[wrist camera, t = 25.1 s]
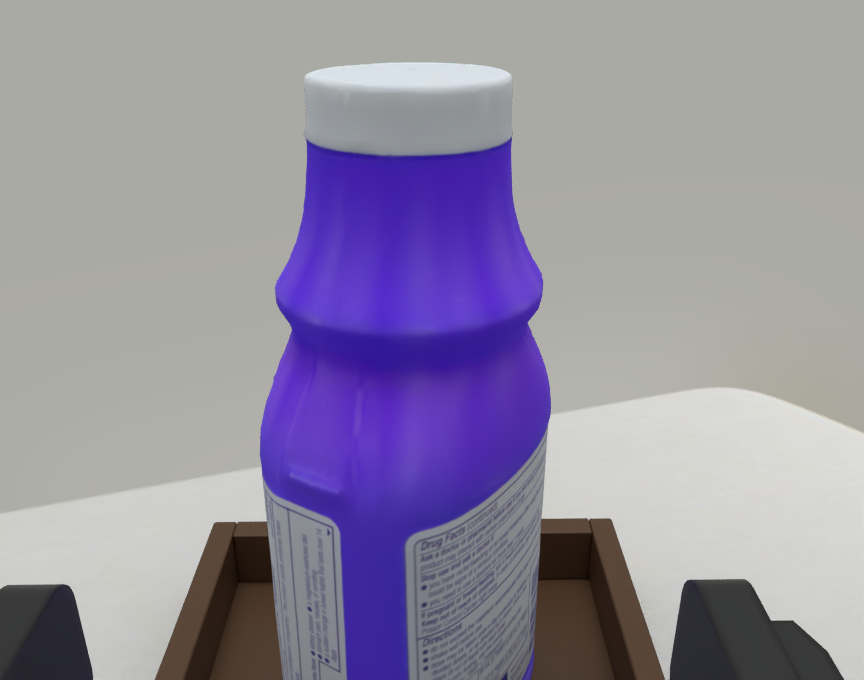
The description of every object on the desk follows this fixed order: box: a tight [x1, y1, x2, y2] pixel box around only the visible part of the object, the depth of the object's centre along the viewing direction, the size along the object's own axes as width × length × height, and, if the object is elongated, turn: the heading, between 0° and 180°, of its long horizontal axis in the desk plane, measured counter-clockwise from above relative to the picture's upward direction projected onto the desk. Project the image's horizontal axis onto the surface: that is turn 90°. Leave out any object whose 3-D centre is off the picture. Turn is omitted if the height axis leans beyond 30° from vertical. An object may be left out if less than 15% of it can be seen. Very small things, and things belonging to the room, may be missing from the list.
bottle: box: [260, 63, 551, 680], centre depth 19 cm, size 7×6×17 cm
